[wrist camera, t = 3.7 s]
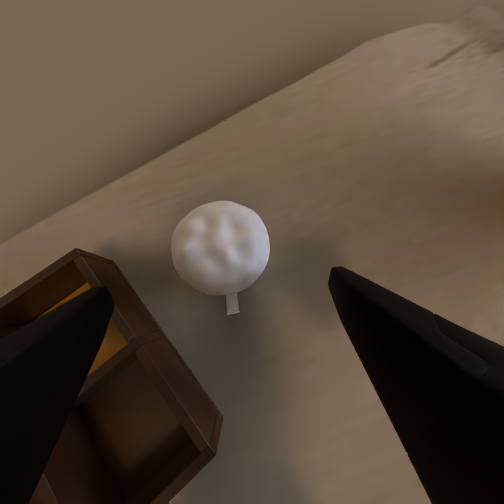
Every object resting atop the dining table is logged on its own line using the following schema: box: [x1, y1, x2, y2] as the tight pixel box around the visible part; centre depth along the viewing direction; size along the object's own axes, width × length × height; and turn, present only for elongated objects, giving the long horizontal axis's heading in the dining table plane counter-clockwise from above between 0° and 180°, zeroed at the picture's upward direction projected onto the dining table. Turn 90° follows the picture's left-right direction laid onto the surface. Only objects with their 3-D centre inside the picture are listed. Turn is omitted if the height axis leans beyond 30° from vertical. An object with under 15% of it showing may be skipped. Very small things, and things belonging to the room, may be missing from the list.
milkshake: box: [171, 201, 270, 316], centre depth 13 cm, size 4×5×10 cm
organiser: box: [0, 248, 223, 504], centre depth 13 cm, size 15×15×4 cm
